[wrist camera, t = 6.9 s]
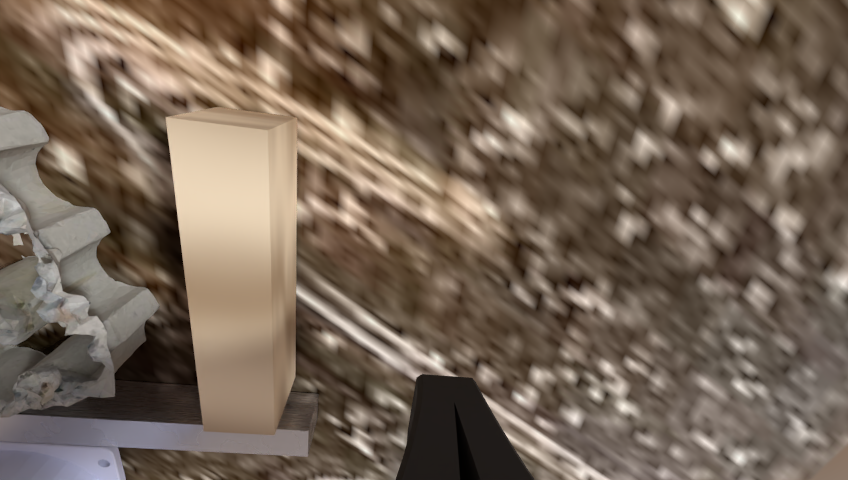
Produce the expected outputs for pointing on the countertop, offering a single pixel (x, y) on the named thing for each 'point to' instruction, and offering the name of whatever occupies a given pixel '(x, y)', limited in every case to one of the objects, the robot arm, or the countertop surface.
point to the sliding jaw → (238, 260)
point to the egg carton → (57, 287)
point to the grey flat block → (159, 423)
